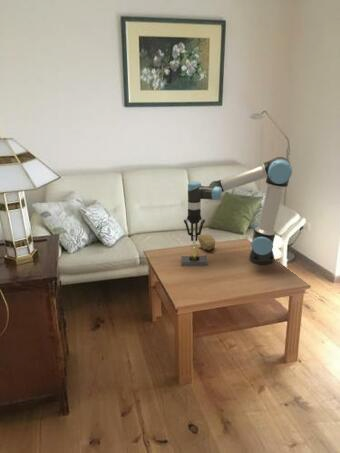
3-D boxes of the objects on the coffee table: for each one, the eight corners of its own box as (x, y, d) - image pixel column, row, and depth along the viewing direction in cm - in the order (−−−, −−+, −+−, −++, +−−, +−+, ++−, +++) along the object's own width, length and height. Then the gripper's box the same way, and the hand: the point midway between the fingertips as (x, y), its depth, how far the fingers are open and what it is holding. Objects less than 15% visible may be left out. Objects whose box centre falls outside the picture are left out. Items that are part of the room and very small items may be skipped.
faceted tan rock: (200, 245, 252) (191, 242, 243) (208, 232, 250) (199, 228, 241) (215, 256, 243) (206, 254, 234) (224, 243, 241) (215, 239, 232)
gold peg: (197, 261, 226) (197, 244, 222) (198, 264, 222) (198, 247, 218) (190, 261, 226) (190, 244, 222) (191, 264, 222) (190, 247, 218)
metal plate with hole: (206, 259, 228) (206, 255, 227) (208, 265, 219) (208, 261, 219) (181, 259, 228) (181, 256, 227) (181, 265, 220) (181, 262, 219)
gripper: (204, 206, 216) (204, 243, 224) (183, 206, 216) (183, 243, 224) (205, 209, 209) (205, 247, 217) (183, 210, 209) (183, 248, 217)
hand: (194, 245), depth 220 cm, fingers closed
